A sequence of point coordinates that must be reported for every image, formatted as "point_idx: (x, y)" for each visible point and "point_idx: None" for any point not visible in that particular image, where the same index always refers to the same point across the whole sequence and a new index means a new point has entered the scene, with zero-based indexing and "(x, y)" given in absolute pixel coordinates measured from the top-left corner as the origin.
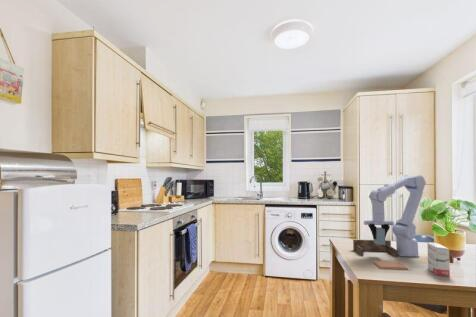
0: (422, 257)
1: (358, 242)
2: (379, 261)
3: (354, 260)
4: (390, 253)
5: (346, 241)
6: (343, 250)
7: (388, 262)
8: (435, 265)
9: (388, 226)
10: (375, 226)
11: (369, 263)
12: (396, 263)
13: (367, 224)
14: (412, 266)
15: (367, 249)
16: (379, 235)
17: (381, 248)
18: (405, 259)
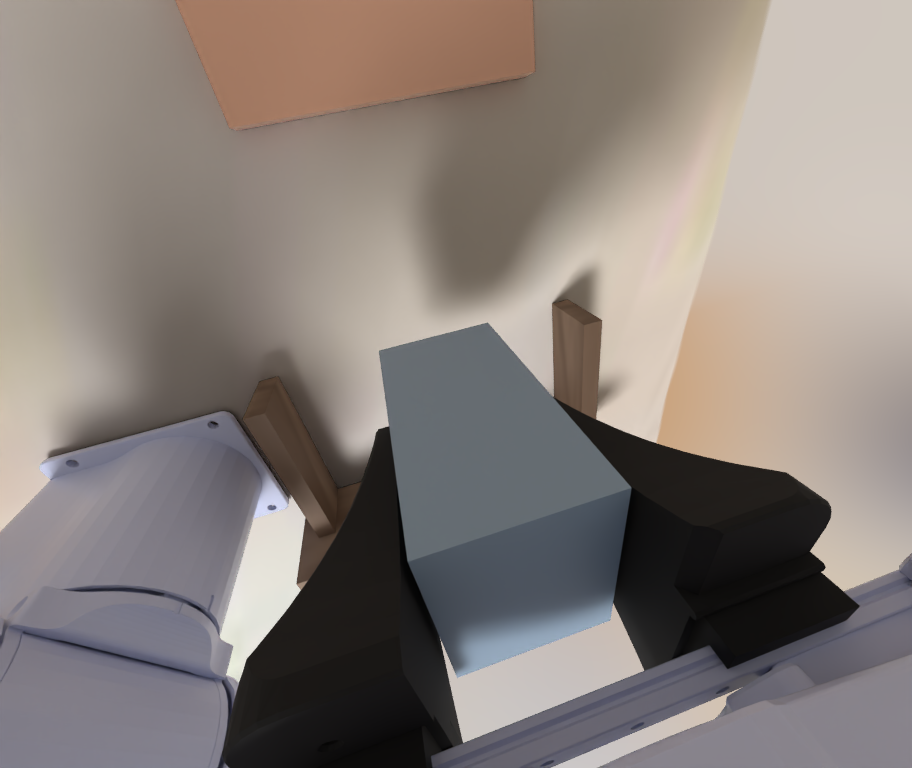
0: (11, 460)
1: None
2: (473, 51)
3: (683, 114)
4: (316, 449)
5: None
6: (650, 389)
7: (369, 32)
8: None
9: (272, 720)
10: (723, 549)
11: (574, 30)
12: (265, 5)
13: (888, 583)
14: (51, 37)
15: None
16: (499, 404)
17: None
18: (176, 332)
